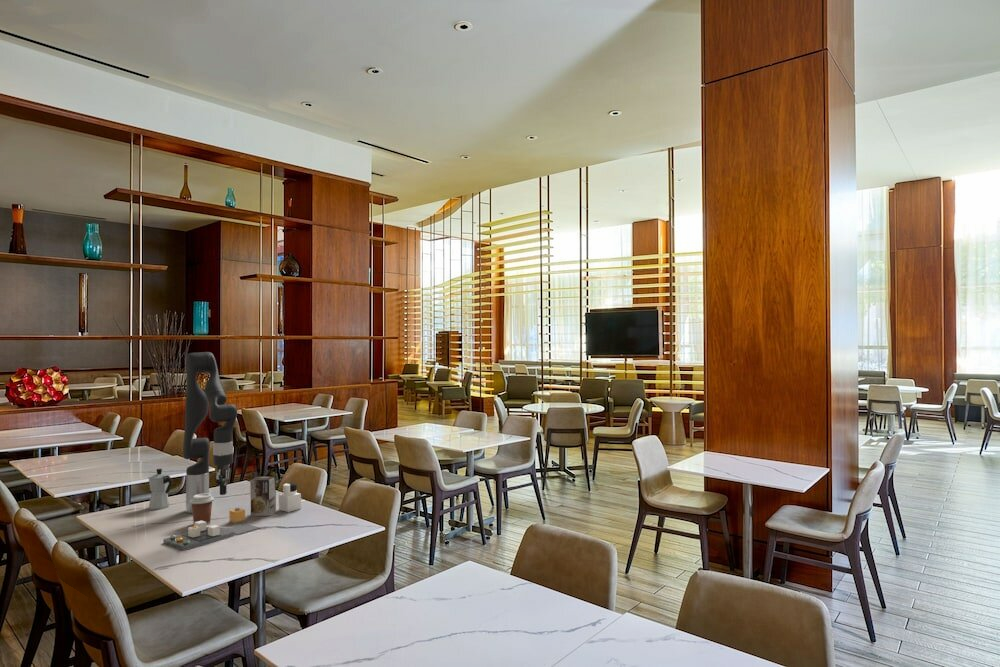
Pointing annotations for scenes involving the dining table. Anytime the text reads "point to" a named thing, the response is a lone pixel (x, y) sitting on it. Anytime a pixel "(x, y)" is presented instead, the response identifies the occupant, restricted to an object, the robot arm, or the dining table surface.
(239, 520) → the lockout cap
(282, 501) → the medicine bottle
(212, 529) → the breaker
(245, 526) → the lockout mat
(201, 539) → the dark grey flat slab
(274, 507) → the coffee box
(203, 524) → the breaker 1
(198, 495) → the coffee cup
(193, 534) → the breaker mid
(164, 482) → the coffee maker
